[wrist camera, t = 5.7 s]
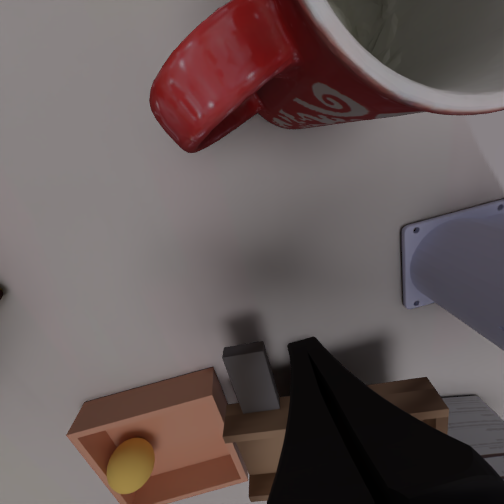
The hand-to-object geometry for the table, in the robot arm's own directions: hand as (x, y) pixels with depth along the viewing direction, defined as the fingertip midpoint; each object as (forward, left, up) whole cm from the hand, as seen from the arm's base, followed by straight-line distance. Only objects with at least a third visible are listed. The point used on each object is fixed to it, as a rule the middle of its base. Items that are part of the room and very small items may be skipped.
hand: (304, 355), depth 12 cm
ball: (+17, +14, -7) cm, 23 cm away
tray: (+13, +14, -9) cm, 21 cm away
